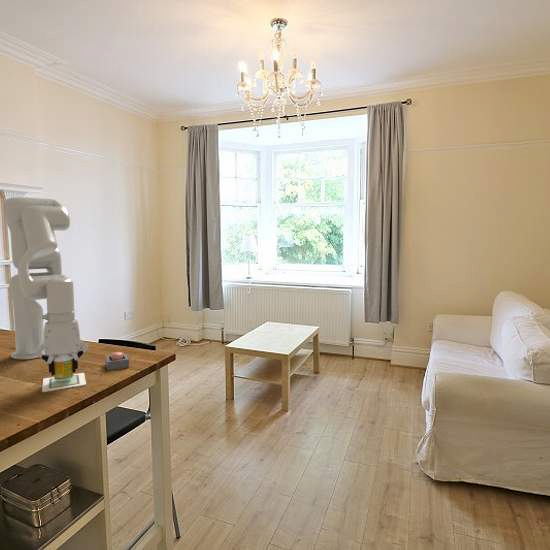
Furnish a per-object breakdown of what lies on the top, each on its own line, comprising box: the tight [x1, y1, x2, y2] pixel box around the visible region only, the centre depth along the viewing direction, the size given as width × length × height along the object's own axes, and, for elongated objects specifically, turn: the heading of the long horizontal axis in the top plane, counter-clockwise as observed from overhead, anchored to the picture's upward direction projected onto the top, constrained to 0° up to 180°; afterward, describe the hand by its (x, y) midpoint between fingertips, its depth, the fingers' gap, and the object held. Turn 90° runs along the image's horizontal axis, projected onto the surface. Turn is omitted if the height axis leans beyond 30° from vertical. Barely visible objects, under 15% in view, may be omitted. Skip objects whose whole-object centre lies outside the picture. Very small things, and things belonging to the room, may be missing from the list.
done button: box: [110, 351, 124, 361], centre depth 142 cm, size 4×4×2 cm
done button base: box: [105, 353, 130, 371], centre depth 143 cm, size 7×7×3 cm
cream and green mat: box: [41, 372, 87, 393], centre depth 127 cm, size 11×12×1 cm
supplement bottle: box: [53, 353, 74, 381], centre depth 126 cm, size 5×5×10 cm
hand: (63, 372), depth 127 cm, fingers closed on supplement bottle, 5 cm apart
